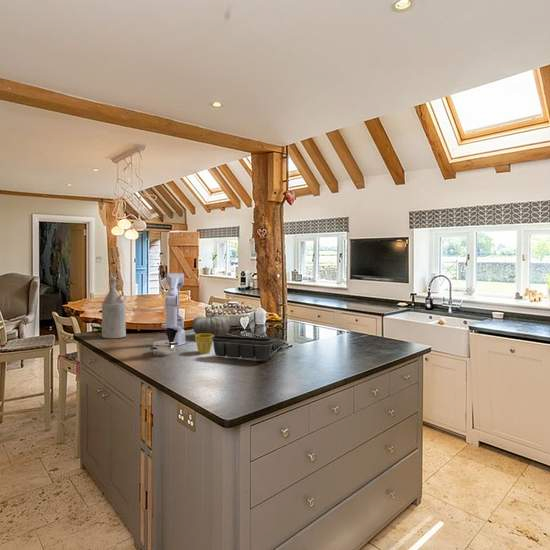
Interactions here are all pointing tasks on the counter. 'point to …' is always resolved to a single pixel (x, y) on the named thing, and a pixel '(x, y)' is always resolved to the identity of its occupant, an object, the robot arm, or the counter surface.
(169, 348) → the cooker pot
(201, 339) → the plant pot
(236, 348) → the dish rack
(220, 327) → the gourd
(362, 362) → the counter surface
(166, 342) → the cooker lid
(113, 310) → the grey bottle
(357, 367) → the counter surface
